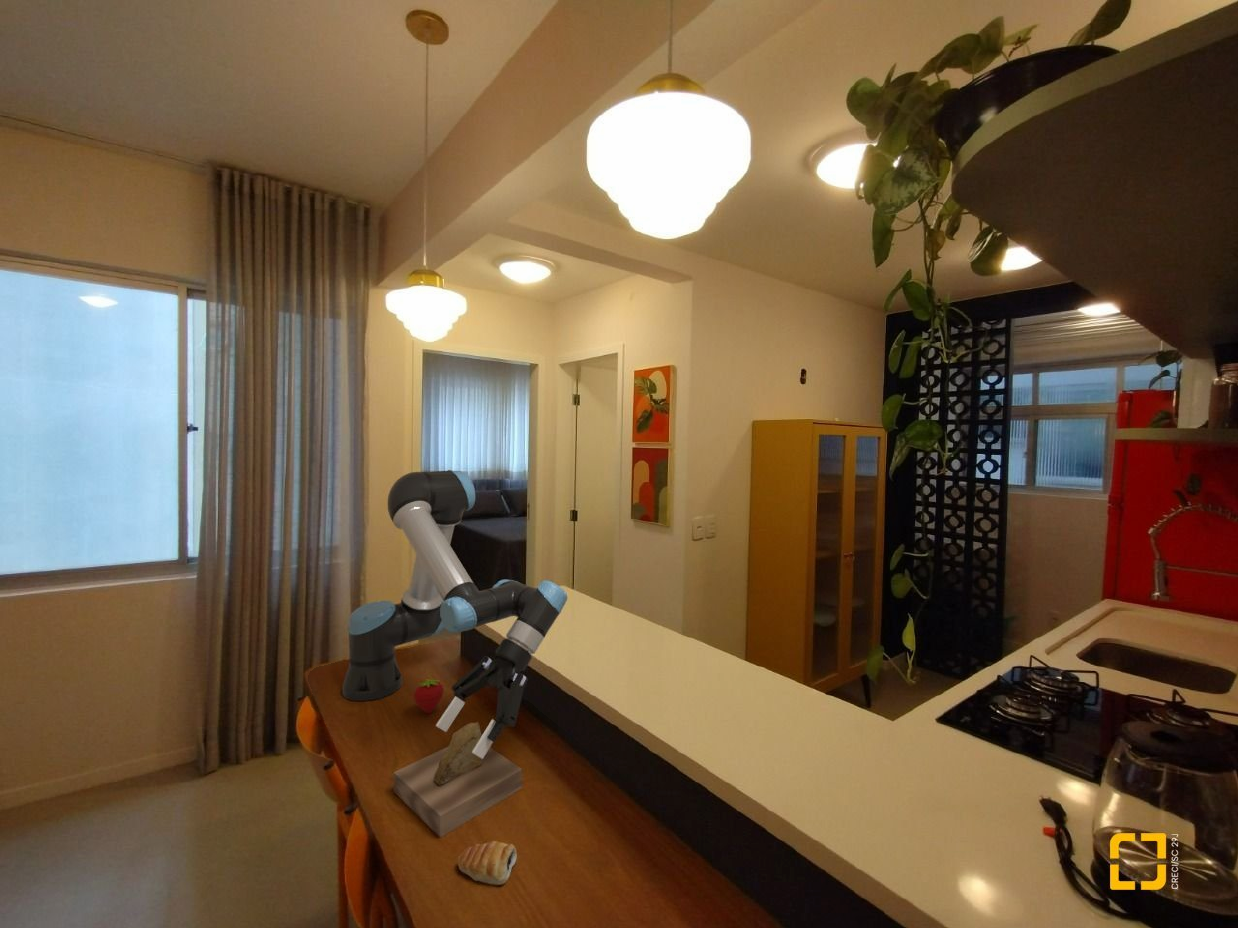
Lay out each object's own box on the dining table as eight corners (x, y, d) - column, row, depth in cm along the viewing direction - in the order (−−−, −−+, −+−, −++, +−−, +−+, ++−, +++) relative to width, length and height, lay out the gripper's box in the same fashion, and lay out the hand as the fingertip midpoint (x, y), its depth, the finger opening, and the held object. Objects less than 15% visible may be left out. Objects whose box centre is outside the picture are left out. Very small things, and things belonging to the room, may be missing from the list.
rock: (433, 785, 98) (487, 766, 101) (426, 736, 102) (479, 719, 105) (436, 789, 106) (486, 771, 110) (429, 743, 110) (478, 728, 114)
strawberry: (409, 714, 135) (409, 676, 134) (437, 703, 140) (436, 667, 140) (420, 722, 131) (420, 683, 130) (448, 711, 136) (448, 673, 136)
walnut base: (393, 791, 105) (393, 772, 105) (472, 752, 119) (472, 735, 118) (440, 837, 93) (440, 815, 93) (521, 788, 107) (521, 769, 106)
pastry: (449, 881, 84) (449, 858, 84) (467, 849, 91) (467, 828, 91) (505, 889, 83) (505, 865, 83) (519, 856, 90) (519, 834, 89)
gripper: (566, 671, 109) (506, 775, 99) (496, 640, 126) (438, 725, 116) (546, 654, 105) (481, 760, 95) (476, 624, 122) (415, 711, 111)
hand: (458, 741), depth 105 cm, fingers open, 13 cm apart
